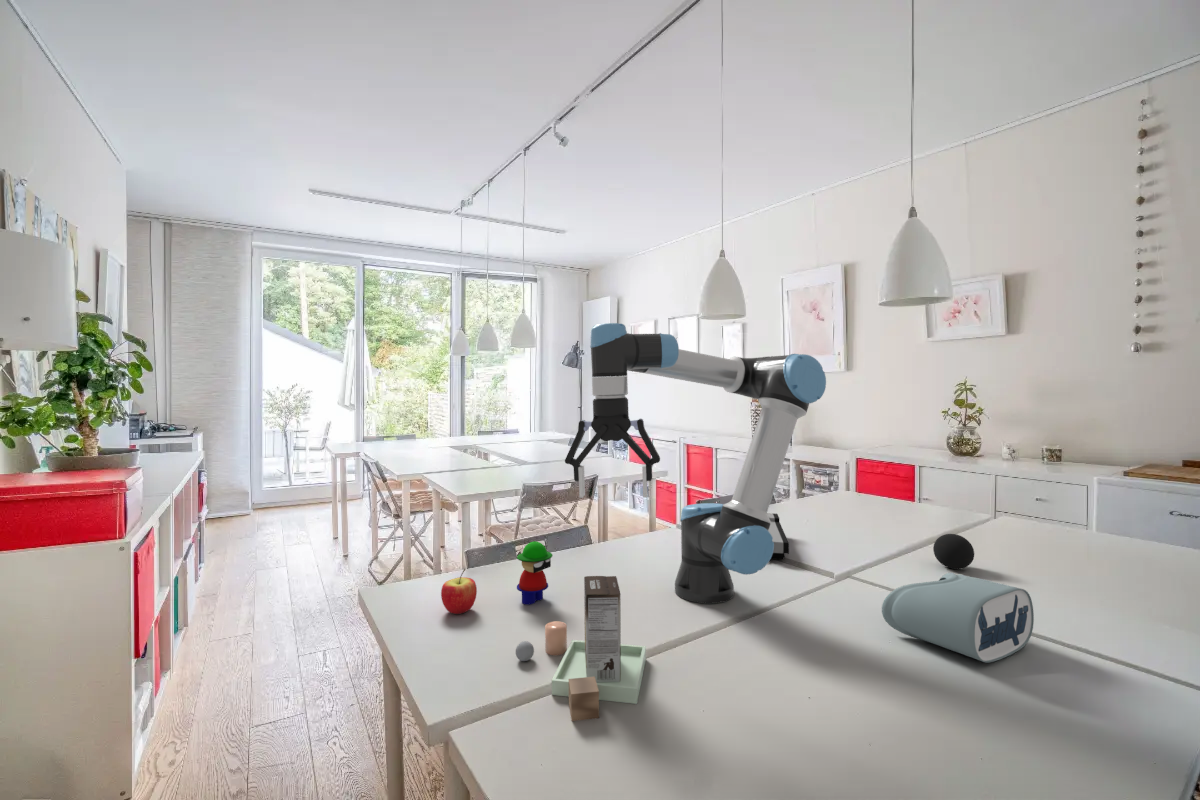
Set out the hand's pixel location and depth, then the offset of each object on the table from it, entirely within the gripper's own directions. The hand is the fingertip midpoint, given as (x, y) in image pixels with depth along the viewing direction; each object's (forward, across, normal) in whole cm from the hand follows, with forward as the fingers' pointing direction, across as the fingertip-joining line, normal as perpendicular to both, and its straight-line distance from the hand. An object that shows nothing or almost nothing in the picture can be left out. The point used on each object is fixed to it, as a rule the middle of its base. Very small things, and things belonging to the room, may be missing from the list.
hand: (613, 496), depth 113 cm
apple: (+30, +39, -8) cm, 50 cm away
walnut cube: (+30, +3, +27) cm, 41 cm away
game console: (+33, -37, -69) cm, 85 cm away
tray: (+30, +1, +16) cm, 34 cm away
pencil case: (+33, -71, -8) cm, 78 cm away
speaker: (+34, -93, -55) cm, 113 cm away
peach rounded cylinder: (+30, +12, +8) cm, 33 cm away
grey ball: (+28, +17, +12) cm, 35 cm away
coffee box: (+29, +1, +16) cm, 33 cm away
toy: (+30, +23, -16) cm, 41 cm away
